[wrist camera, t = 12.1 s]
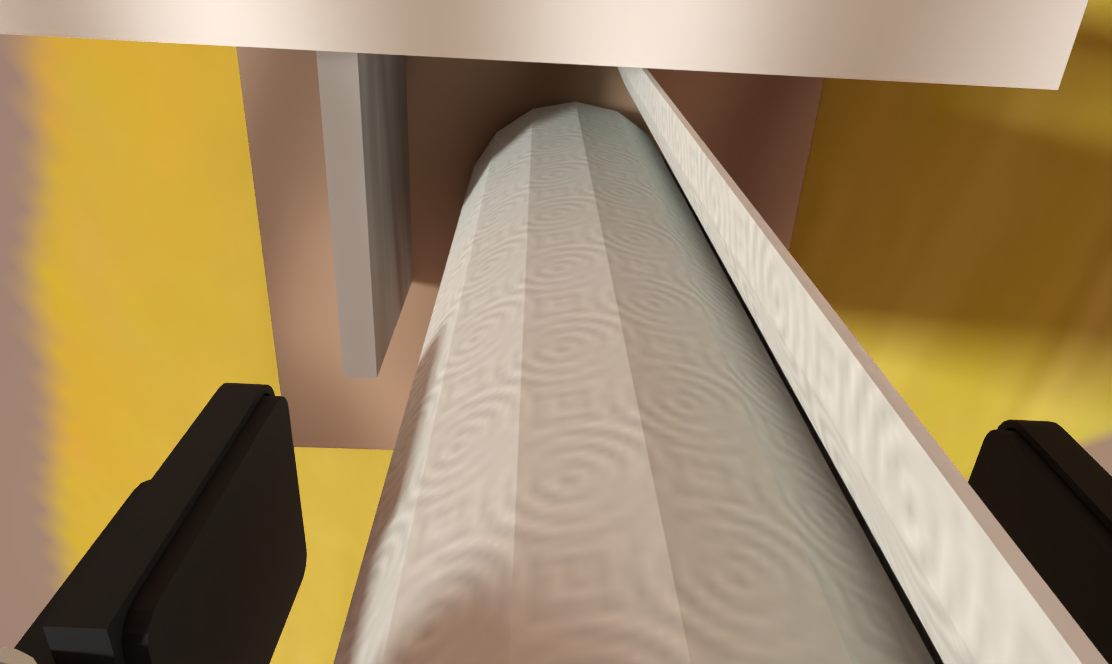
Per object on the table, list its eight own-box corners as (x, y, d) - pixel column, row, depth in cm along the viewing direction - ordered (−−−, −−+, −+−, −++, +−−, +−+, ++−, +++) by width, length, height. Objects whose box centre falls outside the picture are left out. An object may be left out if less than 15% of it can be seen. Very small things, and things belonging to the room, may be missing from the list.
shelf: (829, -42, 21) (1094, -18, 11) (736, 436, 29) (845, 715, 19) (240, -78, 21) (-49, -86, 11) (299, 422, 28) (162, 703, 18)
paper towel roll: (565, 332, 25) (646, 1620, 6) (425, 200, 23) (-148, 1540, 4) (745, 180, 23) (1797, 1456, 4) (608, 19, 21) (1407, 1054, 2)
